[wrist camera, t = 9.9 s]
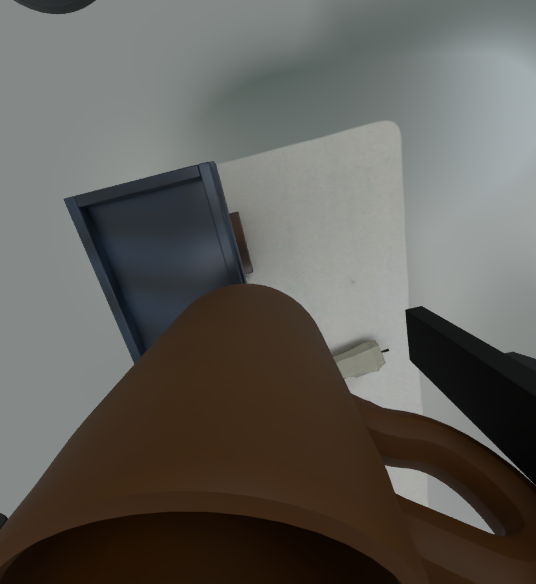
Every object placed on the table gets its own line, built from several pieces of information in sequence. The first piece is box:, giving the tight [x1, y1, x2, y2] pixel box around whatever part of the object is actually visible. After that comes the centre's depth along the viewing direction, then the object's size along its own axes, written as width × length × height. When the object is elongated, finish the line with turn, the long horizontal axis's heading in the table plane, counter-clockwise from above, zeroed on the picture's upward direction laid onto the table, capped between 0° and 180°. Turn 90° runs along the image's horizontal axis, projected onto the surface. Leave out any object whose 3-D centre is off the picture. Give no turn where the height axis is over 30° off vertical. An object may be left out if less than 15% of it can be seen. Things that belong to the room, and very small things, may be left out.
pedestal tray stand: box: [64, 161, 253, 364], centre depth 30 cm, size 15×11×24 cm
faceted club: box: [333, 340, 389, 379], centre depth 45 cm, size 9×8×25 cm
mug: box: [0, 284, 536, 584], centre depth 8 cm, size 12×8×9 cm, turn 85°
